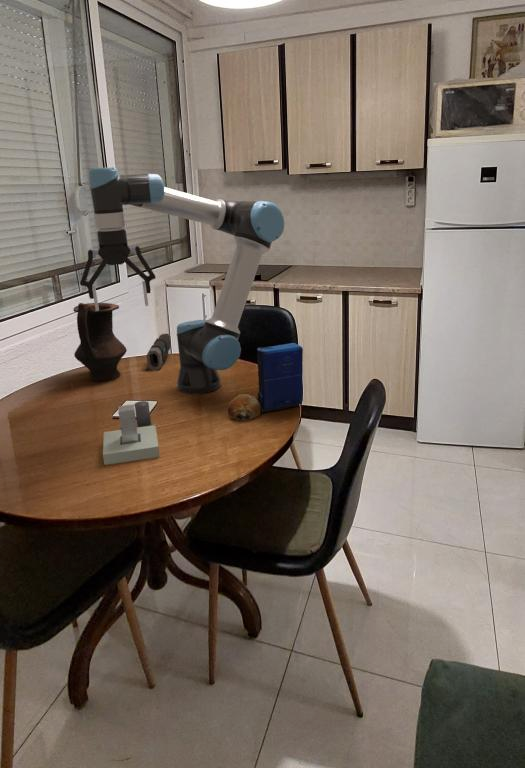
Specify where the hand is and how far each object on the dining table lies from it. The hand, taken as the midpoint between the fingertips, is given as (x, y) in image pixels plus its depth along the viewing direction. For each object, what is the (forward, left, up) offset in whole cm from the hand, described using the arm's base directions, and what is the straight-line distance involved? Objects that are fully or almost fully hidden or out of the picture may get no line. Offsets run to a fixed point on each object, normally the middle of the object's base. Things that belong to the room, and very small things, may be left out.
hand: (122, 307), depth 156 cm
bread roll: (-32, +8, -35) cm, 47 cm away
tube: (-11, -60, -35) cm, 70 cm away
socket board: (+2, +20, -35) cm, 40 cm away
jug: (+11, -44, -35) cm, 57 cm away
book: (-43, +6, -35) cm, 55 cm away
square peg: (+2, +20, -35) cm, 40 cm away
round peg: (-2, +8, -35) cm, 35 cm away
